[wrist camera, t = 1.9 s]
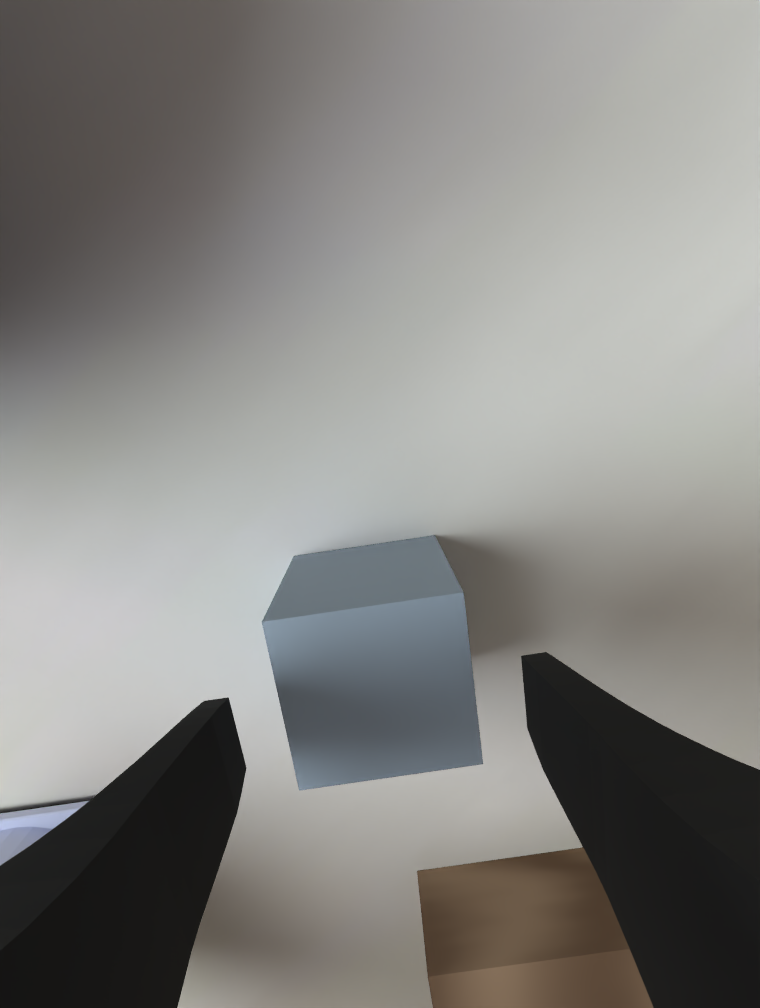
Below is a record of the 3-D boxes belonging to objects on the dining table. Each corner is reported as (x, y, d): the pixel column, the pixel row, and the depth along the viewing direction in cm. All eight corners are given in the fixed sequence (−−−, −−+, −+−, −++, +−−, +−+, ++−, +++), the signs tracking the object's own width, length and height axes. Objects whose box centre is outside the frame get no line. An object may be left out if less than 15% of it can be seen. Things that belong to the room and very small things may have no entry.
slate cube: (319, 679, 17) (299, 790, 12) (294, 555, 16) (261, 621, 11) (450, 660, 17) (483, 764, 12) (434, 534, 16) (463, 592, 11)
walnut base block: (447, 1056, 22) (464, 1196, 18) (416, 861, 19) (428, 976, 16) (692, 1022, 22) (762, 1156, 18) (694, 822, 19) (776, 928, 15)
